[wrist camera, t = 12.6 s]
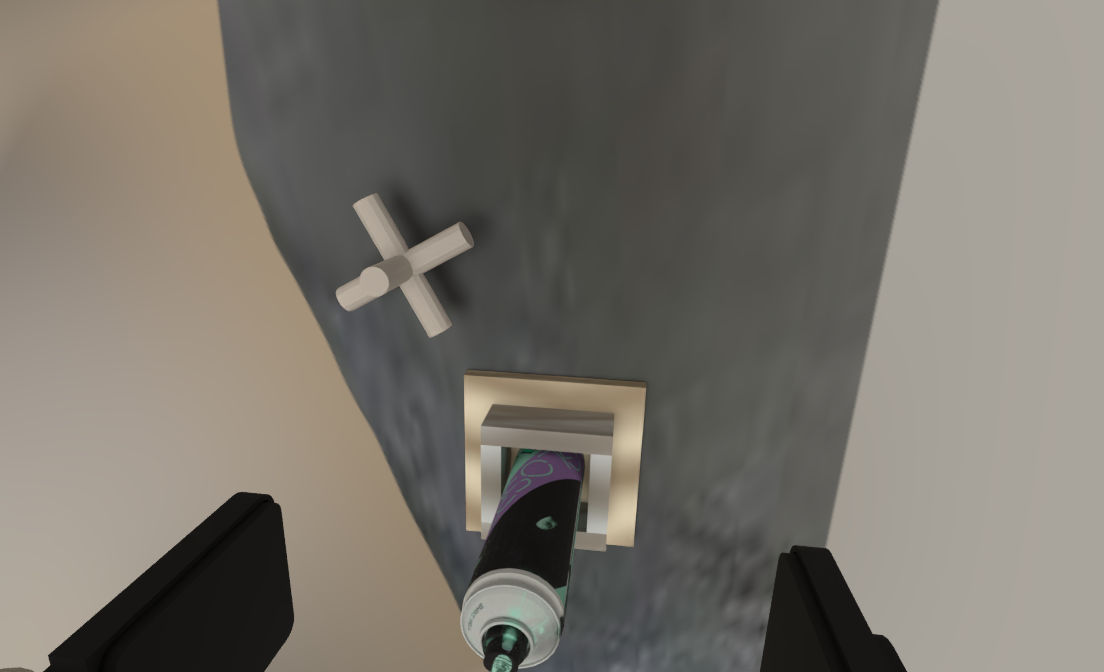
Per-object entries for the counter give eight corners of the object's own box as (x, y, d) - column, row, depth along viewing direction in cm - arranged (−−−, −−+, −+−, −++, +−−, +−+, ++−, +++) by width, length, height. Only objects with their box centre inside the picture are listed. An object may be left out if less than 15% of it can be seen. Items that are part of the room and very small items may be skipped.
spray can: (576, 424, 46) (541, 612, 27) (592, 486, 48) (569, 705, 29) (509, 436, 47) (430, 625, 28) (526, 496, 49) (462, 715, 30)
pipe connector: (516, 284, 45) (486, 319, 35) (407, 339, 47) (351, 385, 38) (450, 162, 43) (399, 164, 33) (340, 225, 45) (263, 244, 36)
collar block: (468, 369, 47) (449, 394, 42) (645, 382, 46) (647, 409, 41) (470, 521, 51) (453, 560, 46) (633, 537, 50) (633, 579, 45)
